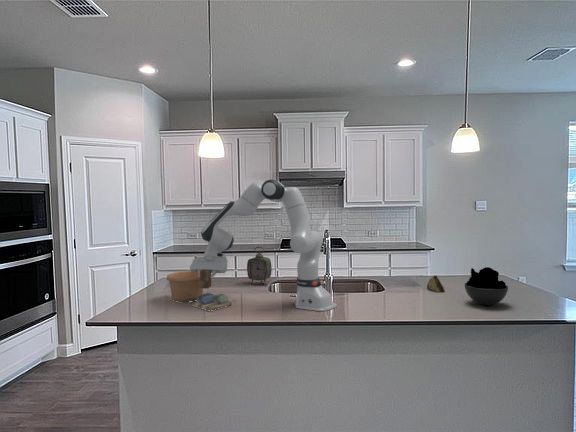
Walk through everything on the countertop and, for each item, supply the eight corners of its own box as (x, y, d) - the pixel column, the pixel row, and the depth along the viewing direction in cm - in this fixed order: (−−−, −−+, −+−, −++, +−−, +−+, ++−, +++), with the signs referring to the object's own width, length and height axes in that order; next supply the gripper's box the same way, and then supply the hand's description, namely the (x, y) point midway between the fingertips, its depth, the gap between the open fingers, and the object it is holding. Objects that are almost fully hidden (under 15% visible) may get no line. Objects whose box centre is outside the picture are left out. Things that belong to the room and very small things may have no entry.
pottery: (197, 304, 218) (196, 278, 217) (160, 303, 222) (159, 277, 221) (212, 295, 239) (211, 271, 238) (178, 294, 243) (177, 270, 243)
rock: (421, 284, 244) (426, 286, 234) (429, 273, 244) (434, 274, 234) (436, 295, 243) (442, 297, 233) (444, 284, 243) (450, 285, 233)
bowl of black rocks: (508, 302, 210) (508, 266, 209) (507, 311, 193) (507, 273, 192) (467, 297, 220) (467, 263, 219) (462, 306, 203) (462, 270, 202)
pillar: (211, 286, 216) (211, 270, 216) (208, 288, 212) (207, 271, 211) (203, 286, 217) (203, 269, 217) (200, 288, 213) (199, 271, 212)
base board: (231, 305, 215) (231, 294, 214) (210, 311, 204) (209, 299, 204) (213, 300, 225) (213, 290, 225) (192, 306, 215) (191, 295, 215)
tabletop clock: (247, 284, 265) (246, 247, 264) (253, 281, 273) (252, 245, 272) (267, 286, 259) (266, 247, 258) (273, 283, 267) (272, 246, 266)
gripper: (192, 253, 222) (184, 274, 213) (227, 254, 218) (221, 275, 209) (195, 260, 227) (188, 281, 218) (230, 261, 223) (224, 282, 214)
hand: (205, 278), depth 214 cm, fingers closed on pillar, 4 cm apart
